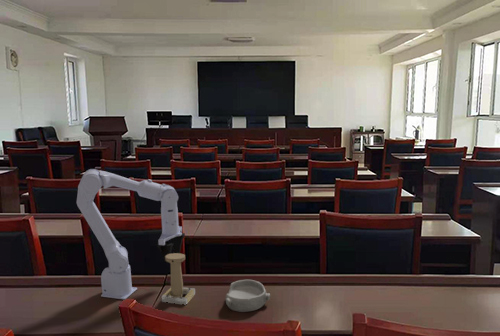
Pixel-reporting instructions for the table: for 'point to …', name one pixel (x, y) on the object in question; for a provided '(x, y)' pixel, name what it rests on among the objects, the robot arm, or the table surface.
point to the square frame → (179, 300)
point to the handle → (176, 273)
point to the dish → (246, 296)
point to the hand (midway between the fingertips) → (172, 257)
